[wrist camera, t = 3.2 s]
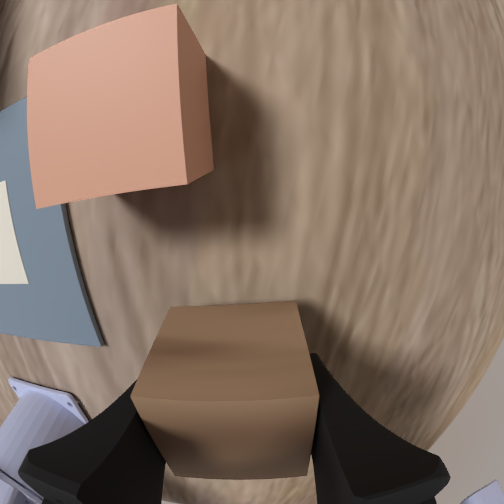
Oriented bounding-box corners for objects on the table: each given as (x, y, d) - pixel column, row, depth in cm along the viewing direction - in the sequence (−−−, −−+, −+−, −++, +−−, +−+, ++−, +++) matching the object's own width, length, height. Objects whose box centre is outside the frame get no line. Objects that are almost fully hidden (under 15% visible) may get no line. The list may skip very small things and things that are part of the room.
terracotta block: (214, 169, 12) (187, 184, 7) (106, 184, 12) (36, 209, 7) (206, 55, 10) (176, 3, 5) (98, 80, 10) (29, 58, 5)
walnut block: (294, 388, 13) (306, 475, 8) (192, 391, 13) (175, 475, 8) (295, 300, 11) (319, 395, 7) (170, 306, 11) (130, 396, 7)
